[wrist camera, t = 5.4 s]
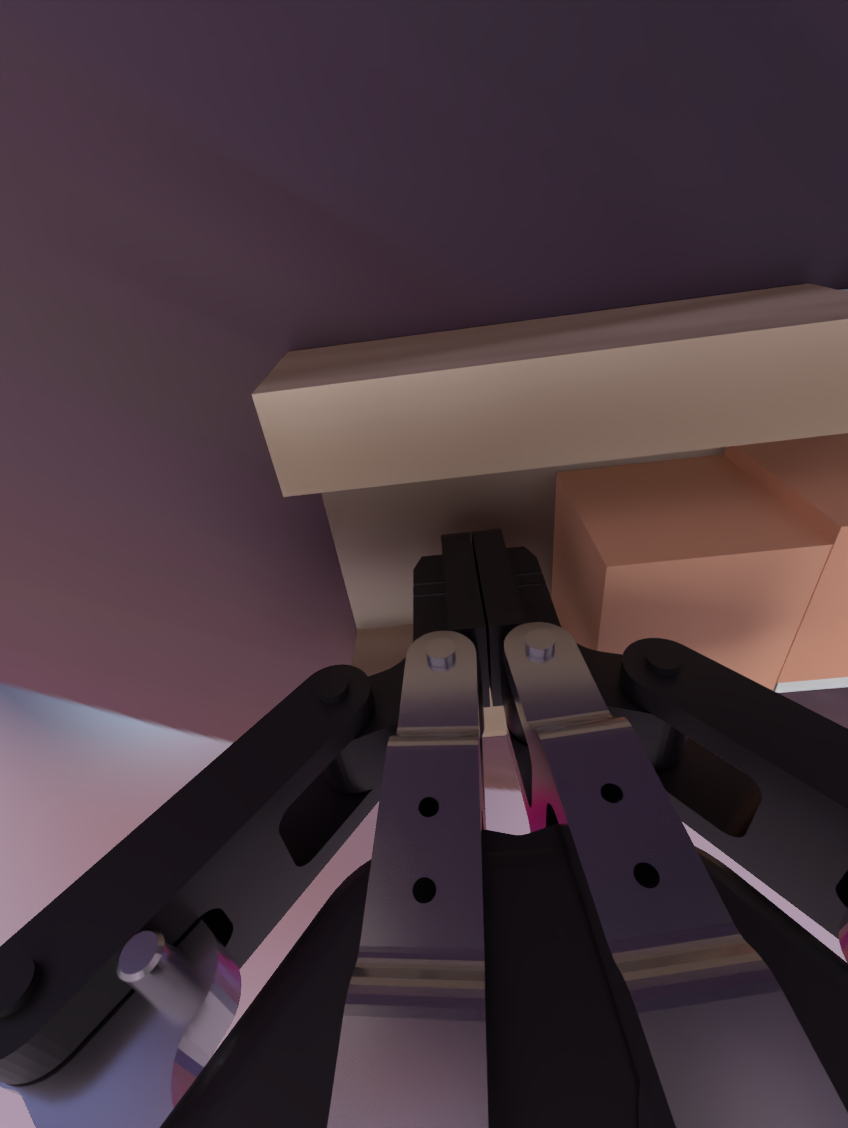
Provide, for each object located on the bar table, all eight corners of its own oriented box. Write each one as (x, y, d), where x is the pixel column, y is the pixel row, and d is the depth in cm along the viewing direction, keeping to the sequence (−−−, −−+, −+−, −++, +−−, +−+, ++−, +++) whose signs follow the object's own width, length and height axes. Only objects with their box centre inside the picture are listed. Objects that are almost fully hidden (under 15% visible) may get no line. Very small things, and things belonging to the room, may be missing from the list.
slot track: (287, 351, 11) (251, 394, 9) (809, 283, 11) (924, 308, 8) (369, 668, 17) (361, 746, 15) (712, 637, 16) (763, 713, 14)
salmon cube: (727, 439, 12) (840, 526, 9) (902, 420, 12) (1084, 502, 9) (694, 574, 15) (776, 682, 11) (841, 560, 14) (968, 666, 11)
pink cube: (556, 471, 13) (606, 566, 9) (723, 454, 13) (832, 544, 9) (551, 598, 15) (590, 709, 12) (691, 584, 15) (770, 693, 12)
